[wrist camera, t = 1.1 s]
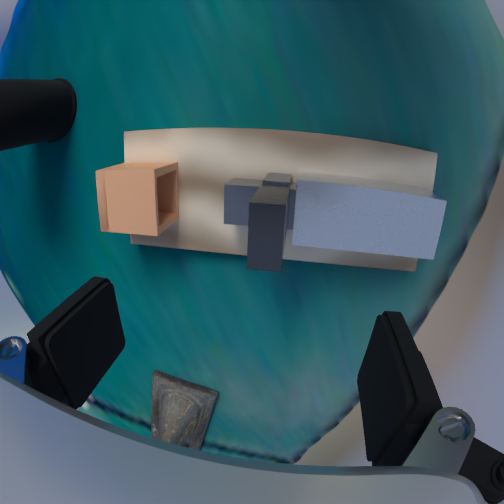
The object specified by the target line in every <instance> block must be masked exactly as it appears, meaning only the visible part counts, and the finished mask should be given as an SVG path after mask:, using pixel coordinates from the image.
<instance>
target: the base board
mask: <svg viewBox="0 0 504 504" xmlns="http://www.w3.org/2000/svg"><path fill="white" fill-rule="evenodd" d="M437 156H438V153H434V152H430V151H425V150H421V149H416V148H411V147H406V146H401V145H396V144H391V143H385V142H379V141H373V140H367V139H360V138H353V137H346V136H338V135H330V134H321V133H311V132H300V131H288V130H272V129H252V128H175V129H154V130H140V131H127V132H124V159H125V163H132V162H178V192H179V219H178V220H177V221H176V222H175V223H173V224H172V225H171V226H170V227H168V228H167V229H166V230H165V231H163V232H162V233H161V234H160V235H158V236H150V235H139V234H130V241H131V244H139V245H149V246H159V247H168V248H178V249H188V250H198V251H207V252H217V253H227V254H237V255H247V245H248V226H242V225H231V224H224V184H226V183H227V182H228V181H230V180H231V179H232V178H243V179H258V180H263V179H264V178H265V177H266V175H267V174H268V173H269V172H271V173H284V174H292V176H291V182H296V183H297V173H298V171H305V172H315V173H324V174H333V175H342V176H350V177H358V178H365V179H372V180H379V181H385V182H392V183H398V184H404V185H410V186H416V187H421V188H425V189H427V190H428V191H430V192H433V186H434V179H435V172H436V165H437ZM292 235H293V230H287V233H286V239H285V246H284V253H283V259H287V260H297V261H308V262H318V263H328V264H338V265H349V266H359V267H369V268H380V269H390V270H401V271H411V272H415V270H416V266H417V262H418V259H419V258H412V257H403V256H394V255H385V254H375V253H366V252H356V251H346V250H336V249H326V248H316V247H306V246H296V245H292Z"/></svg>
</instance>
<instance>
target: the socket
mask: <svg viewBox="0 0 504 504" xmlns="http://www.w3.org/2000/svg"><path fill="white" fill-rule="evenodd" d="M96 185H97V197H98V207H99V216H100V225H101V231H104V232H116V233H127V234H139V235H150V236H158V235H160V234H161V233H162V232H163V231H165V230H166V229H167V228H168V227H170V226H171V225H172V224H173V223H175V222H176V221H177V220H178V219H179V192H178V162H132V163H122V164H118V165H114V166H111V167H107V168H104V169H100V170H97V171H96Z"/></svg>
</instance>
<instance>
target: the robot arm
mask: <svg viewBox="0 0 504 504" xmlns="http://www.w3.org/2000/svg"><path fill="white" fill-rule="evenodd" d="M27 336H28V338H29V341H30V342H29V343H28V344H27V343H26V341H25V340H24V339H23V338H21V337H17V336H13V337H12V336H11V337H8V338H6V339H4V340H2V341H1V342H0V504H504V454H502V453H501V452H499V451H497V450H495V449H494V448H492V447H490V446H488V445H487V444H485V443H483V442H481V441H480V440H478V439H476V438H474V435H475V424H474V422H473V420H472V418H471V417H470V416H469V415H468V414H467V413H466V412H465V411H463V410H462V409H459V408H456V407H445V408H443V407H442V404H441V401H440V399H439V396H438V393H437V390H436V388H435V385H434V383H433V380H432V378H431V375H430V373H429V370H428V368H427V365H426V363H425V361H424V358H423V356H422V354H421V352H420V351H418V349H417V346H416V344H415V342H414V340H413V337H412V335H411V333H410V330H409V328H408V326H407V324H406V322H405V320H404V317H403V315H402V313H401V312H392V311H384V312H383V314H382V315H378V316H377V319H376V322H375V325H374V328H373V332H372V335H371V338H370V341H369V344H368V347H367V350H366V353H365V356H364V359H363V362H362V365H361V367H360V370H359V373H358V379H357V383H358V390H359V397H360V404H361V411H362V419H363V427H364V436H365V445H366V455H367V460H368V461H372V466H360V467H336V466H331V467H330V466H311V465H310V466H309V465H294V464H282V463H272V462H264V461H256V460H249V459H242V458H236V457H230V456H224V455H219V454H214V453H209V452H204V451H200V450H195V449H191V448H187V447H183V446H179V445H175V444H171V443H168V442H164V441H161V440H157V439H154V438H150V437H147V436H144V435H141V434H138V433H135V432H132V431H129V430H126V429H123V428H120V427H118V426H115V425H112V424H110V423H107V422H104V421H102V420H99V419H97V418H94V417H92V416H90V415H87V414H85V413H82V412H80V411H78V410H77V408H78V407H81V406H82V405H83V404H84V403H85V401H86V400H87V398H88V397H89V395H90V394H91V393H92V391H93V390H94V388H95V387H96V386H97V384H98V383H99V381H100V380H101V379H102V377H103V376H104V375H105V373H106V372H107V370H108V369H109V368H110V366H111V365H112V364H113V362H114V361H115V360H116V358H117V357H118V356H119V354H120V353H121V352H122V350H123V349H124V346H125V338H124V334H123V329H122V325H121V320H120V316H119V311H118V306H117V301H116V296H115V291H114V286H113V284H112V283H110V280H109V279H107V278H102V277H93V278H91V279H90V280H89V281H88V282H86V283H85V284H84V285H83V286H82V287H80V288H79V289H78V290H77V291H75V292H74V293H73V294H72V295H71V296H69V297H68V298H67V299H66V300H65V301H64V302H62V303H61V304H60V305H59V306H58V307H56V308H55V309H54V310H53V311H52V312H51V313H50V314H48V315H47V316H46V317H45V318H44V319H43V320H42V321H40V322H39V323H38V324H37V325H36V326H35V327H34V328H33V329H32V330H31V331H29V332H28V333H27Z"/></svg>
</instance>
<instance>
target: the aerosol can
mask: <svg viewBox="0 0 504 504" xmlns="http://www.w3.org/2000/svg"><path fill="white" fill-rule="evenodd" d="M75 112H76V96H75V92H74V89H73V87H72V85H71V84H70V83H69V82H68V81H67V80H64V79H61V78H57V79H53V80H41V79H0V151H2V150H6V149H11V148H15V147H20V146H24V145H29V144H34V143H39V142H45V141H47V142H55V141H58V140H59V139H61V138H62V137H63V136H64V135H65V134H66V133H67V132H68V130H69V129H70V127H71V125H72V122H73V120H74V116H75Z"/></svg>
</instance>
